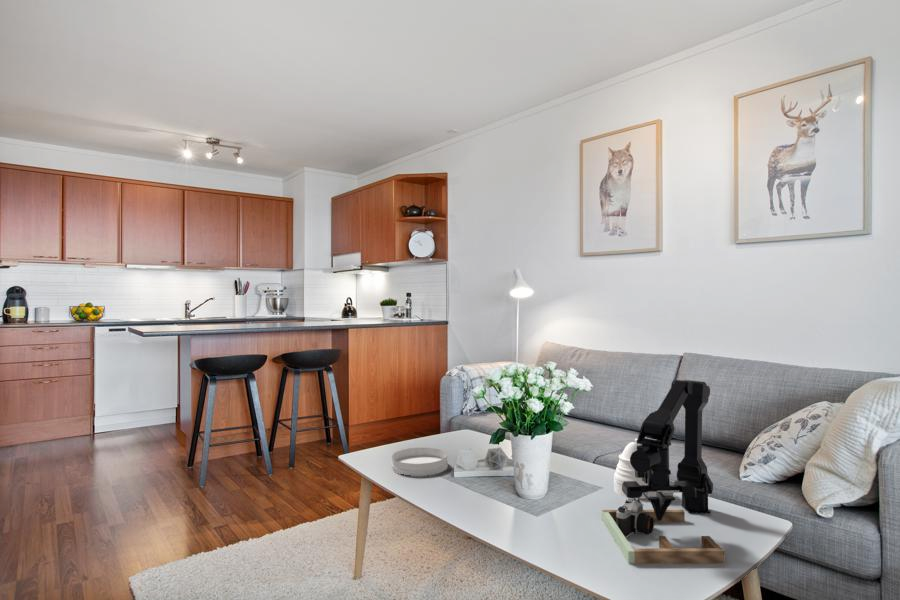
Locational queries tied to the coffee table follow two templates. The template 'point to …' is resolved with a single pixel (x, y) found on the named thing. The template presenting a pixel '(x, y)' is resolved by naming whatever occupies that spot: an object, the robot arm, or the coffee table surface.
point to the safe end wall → (618, 537)
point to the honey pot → (626, 470)
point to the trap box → (676, 555)
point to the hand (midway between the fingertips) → (659, 520)
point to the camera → (634, 518)
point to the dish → (419, 461)
